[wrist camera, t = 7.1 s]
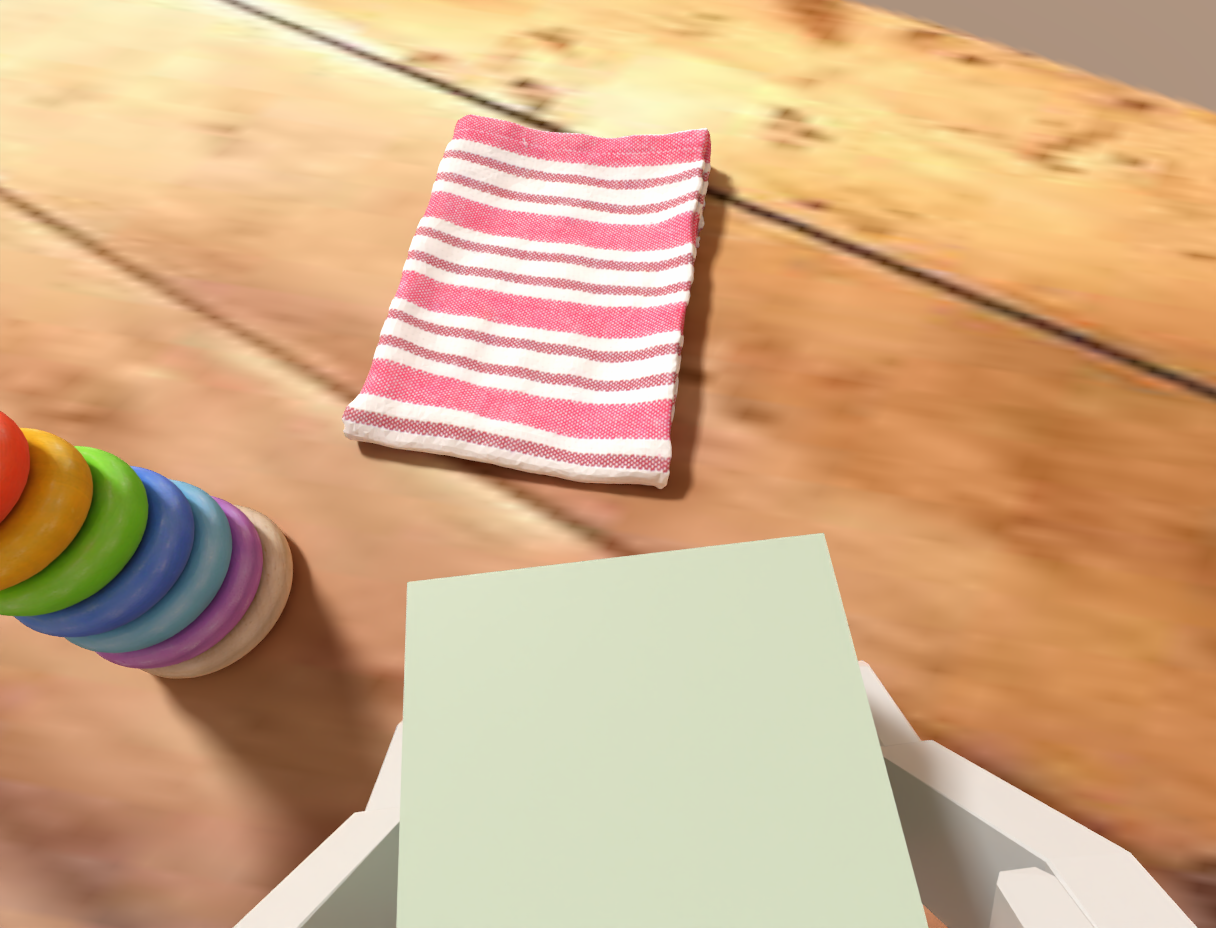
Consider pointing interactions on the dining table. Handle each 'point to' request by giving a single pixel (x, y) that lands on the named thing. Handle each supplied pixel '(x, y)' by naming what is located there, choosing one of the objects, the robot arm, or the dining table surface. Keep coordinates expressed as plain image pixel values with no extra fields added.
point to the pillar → (645, 749)
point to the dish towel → (543, 305)
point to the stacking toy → (133, 559)
